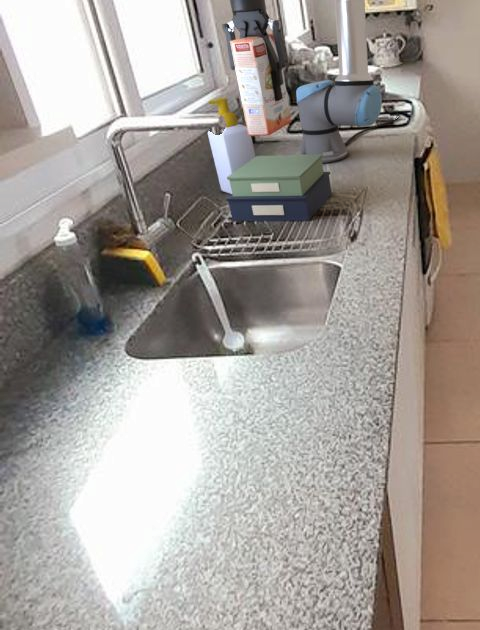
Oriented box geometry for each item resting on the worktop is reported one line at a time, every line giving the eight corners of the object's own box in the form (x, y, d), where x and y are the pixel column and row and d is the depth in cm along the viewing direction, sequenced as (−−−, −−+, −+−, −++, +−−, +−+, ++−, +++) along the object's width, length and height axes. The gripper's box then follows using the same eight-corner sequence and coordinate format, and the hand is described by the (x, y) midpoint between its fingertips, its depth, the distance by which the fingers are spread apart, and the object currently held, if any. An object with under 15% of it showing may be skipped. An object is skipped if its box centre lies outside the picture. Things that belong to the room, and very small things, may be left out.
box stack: (262, 194, 168) (254, 154, 163) (333, 193, 165) (327, 153, 159) (231, 221, 151) (220, 178, 145) (309, 221, 147) (302, 177, 142)
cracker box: (271, 136, 142) (252, 39, 131) (247, 136, 143) (227, 40, 132) (293, 122, 153) (278, 32, 143) (271, 123, 155) (254, 33, 144)
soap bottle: (219, 191, 173) (197, 100, 160) (246, 183, 178) (227, 94, 166) (236, 197, 167) (215, 103, 155) (263, 188, 173) (245, 96, 160)
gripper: (197, -5, 132) (222, 105, 143) (280, -11, 128) (298, 102, 140) (213, -7, 138) (235, 98, 149) (292, -13, 135) (308, 95, 146)
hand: (265, 100), depth 145 cm, fingers closed on cracker box, 6 cm apart
